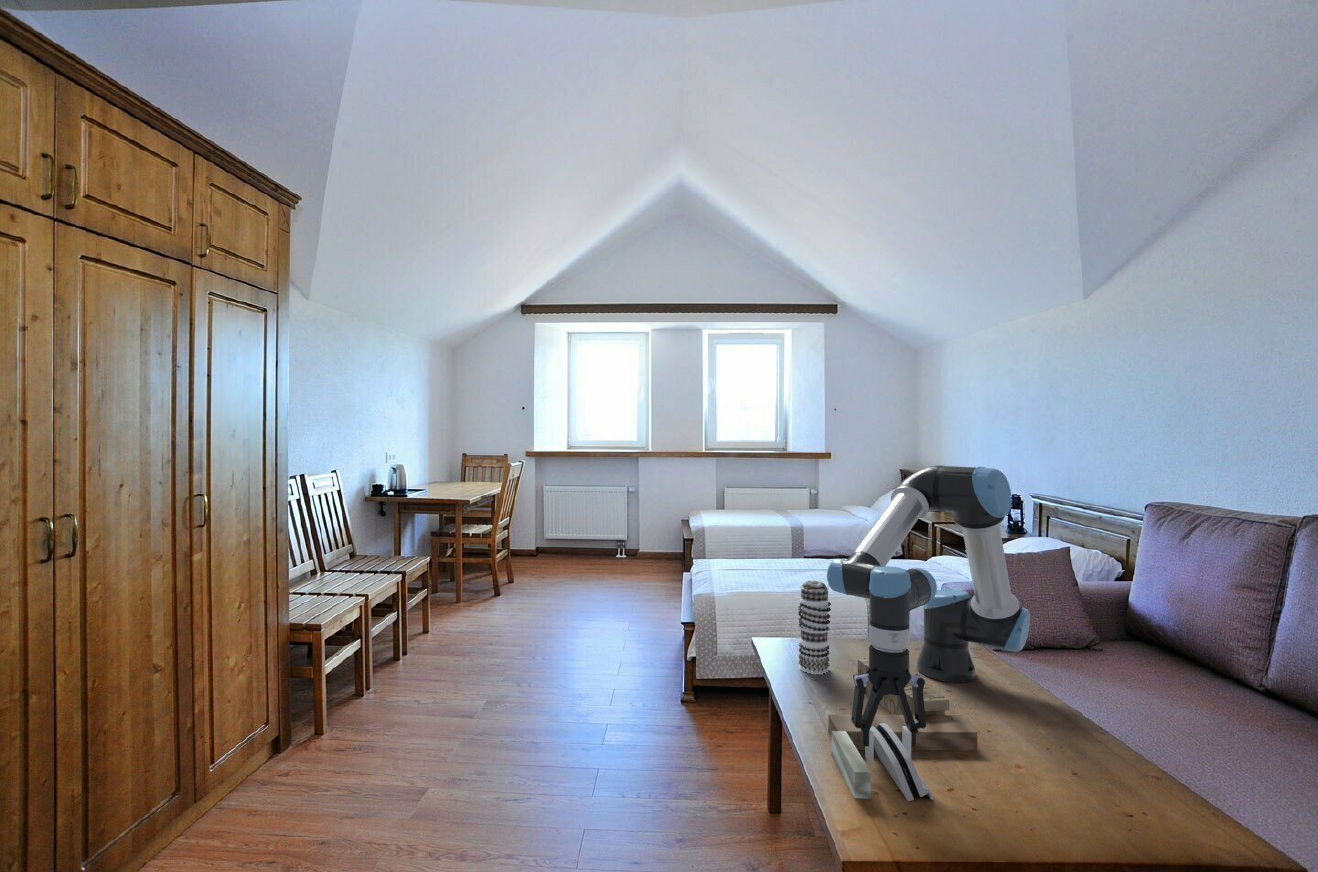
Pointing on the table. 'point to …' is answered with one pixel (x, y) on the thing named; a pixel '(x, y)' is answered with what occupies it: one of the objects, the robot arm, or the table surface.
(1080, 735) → the table surface
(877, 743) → the grey arched slotted casing
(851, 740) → the board
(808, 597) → the decorative candle
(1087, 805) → the table surface
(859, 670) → the block tower
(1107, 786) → the table surface
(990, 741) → the table surface
